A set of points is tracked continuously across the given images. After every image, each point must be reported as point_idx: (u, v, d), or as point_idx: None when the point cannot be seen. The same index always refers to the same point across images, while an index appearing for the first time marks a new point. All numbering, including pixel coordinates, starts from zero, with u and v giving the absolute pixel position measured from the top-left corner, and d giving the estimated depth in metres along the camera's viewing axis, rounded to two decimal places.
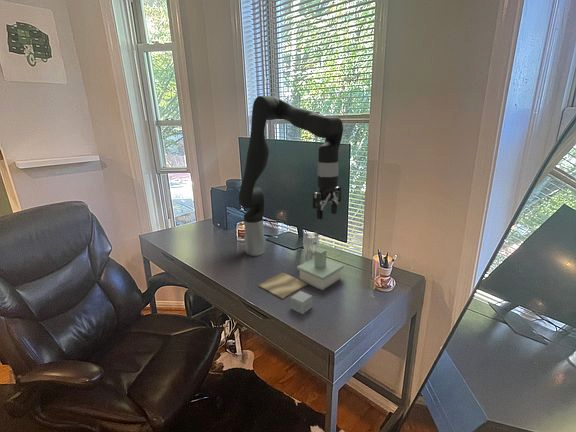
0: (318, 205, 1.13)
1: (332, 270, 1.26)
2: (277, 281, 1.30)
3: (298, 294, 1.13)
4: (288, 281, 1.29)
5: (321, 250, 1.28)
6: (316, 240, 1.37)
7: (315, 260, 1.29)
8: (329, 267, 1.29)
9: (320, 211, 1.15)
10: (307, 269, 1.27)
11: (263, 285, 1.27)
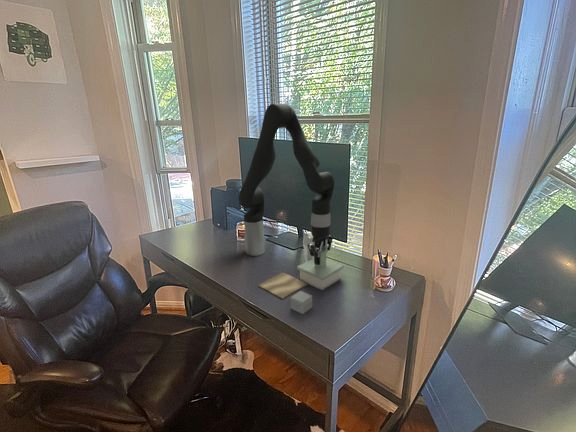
0: (315, 254, 1.24)
1: (332, 270, 1.26)
2: (277, 281, 1.30)
3: (298, 294, 1.13)
4: (288, 281, 1.29)
5: None
6: None
7: None
8: (329, 267, 1.29)
9: (317, 258, 1.26)
10: (307, 269, 1.27)
11: (263, 285, 1.27)
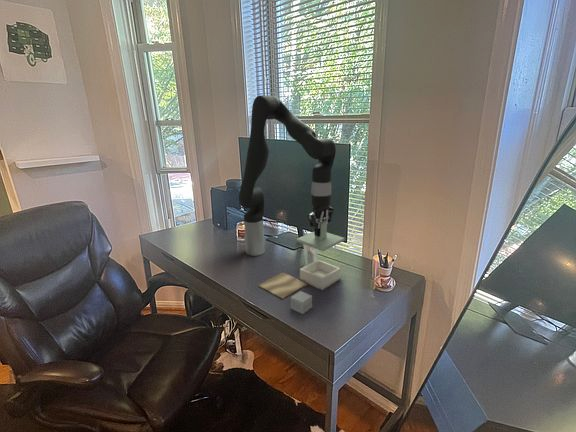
0: (315, 224, 1.20)
1: (333, 242, 1.22)
2: (277, 281, 1.30)
3: (298, 294, 1.13)
4: (288, 281, 1.29)
5: None
6: None
7: None
8: (330, 239, 1.25)
9: (317, 229, 1.22)
10: (307, 241, 1.24)
11: (263, 285, 1.27)
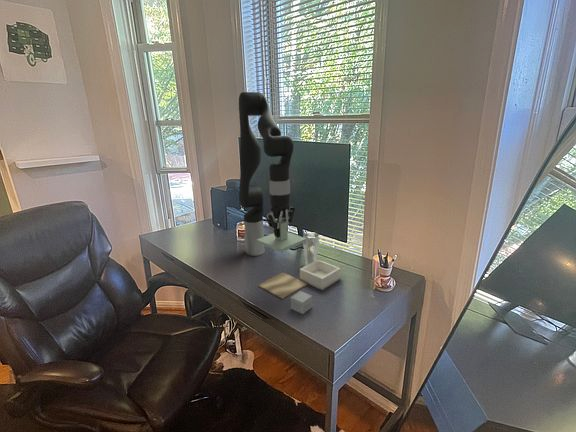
0: (273, 224, 1.15)
1: (293, 242, 1.18)
2: (277, 281, 1.30)
3: (298, 294, 1.13)
4: (288, 281, 1.29)
5: (282, 221, 1.19)
6: (316, 240, 1.38)
7: None
8: (290, 240, 1.20)
9: (277, 229, 1.18)
10: (266, 242, 1.19)
11: (263, 285, 1.27)
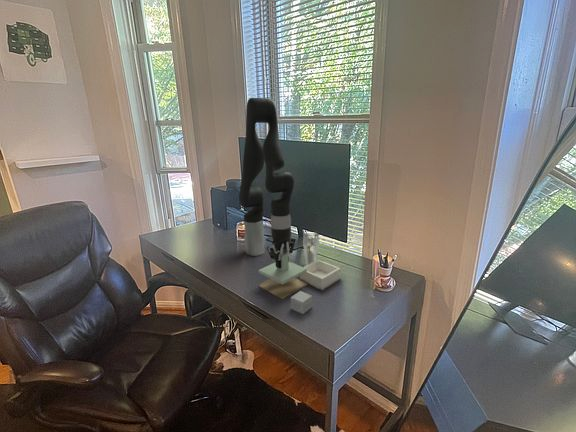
0: (275, 257, 1.19)
1: (294, 274, 1.22)
2: None
3: (298, 294, 1.13)
4: (288, 281, 1.29)
5: (283, 253, 1.24)
6: (316, 240, 1.37)
7: None
8: (291, 270, 1.24)
9: (278, 261, 1.22)
10: (268, 273, 1.23)
11: (263, 285, 1.27)
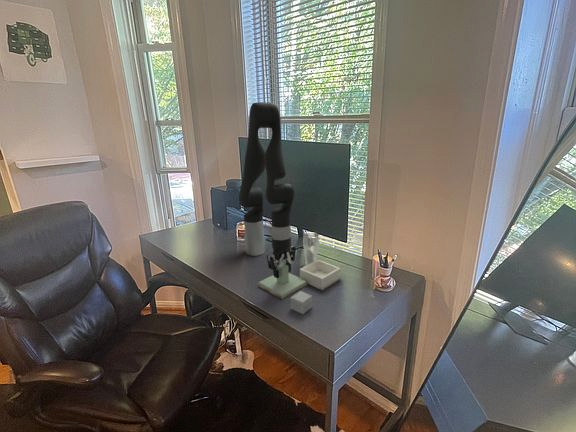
0: (273, 267, 1.20)
1: (294, 286, 1.24)
2: None
3: (298, 294, 1.13)
4: None
5: (283, 265, 1.25)
6: (316, 240, 1.37)
7: None
8: (291, 283, 1.26)
9: (276, 271, 1.22)
10: (268, 285, 1.25)
11: None
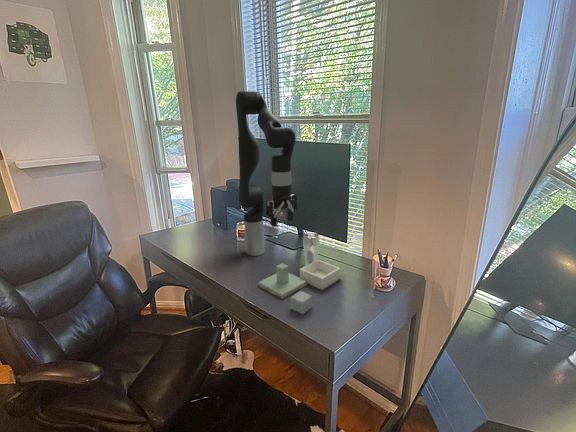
0: (271, 213, 1.16)
1: (294, 286, 1.24)
2: None
3: (298, 294, 1.13)
4: None
5: (283, 265, 1.25)
6: (316, 240, 1.37)
7: (277, 276, 1.26)
8: (291, 283, 1.26)
9: (274, 219, 1.19)
10: (268, 285, 1.25)
11: None
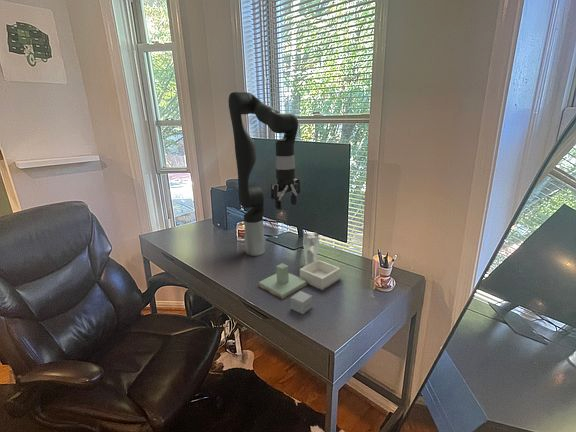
0: (275, 196, 1.21)
1: (294, 286, 1.24)
2: None
3: (298, 294, 1.13)
4: None
5: (283, 265, 1.25)
6: (316, 240, 1.37)
7: (277, 276, 1.26)
8: (291, 283, 1.26)
9: (278, 201, 1.24)
10: (268, 285, 1.25)
11: None
